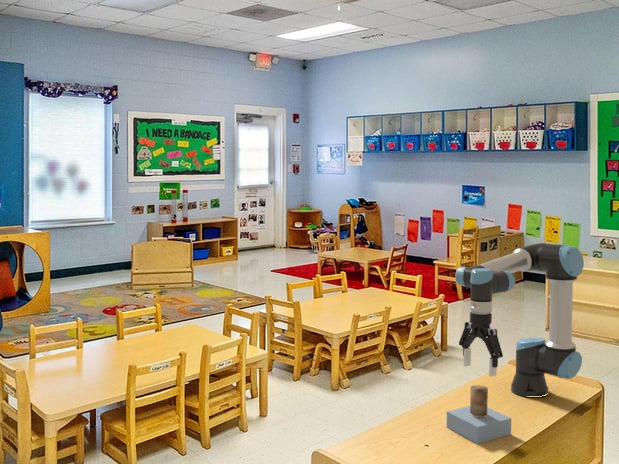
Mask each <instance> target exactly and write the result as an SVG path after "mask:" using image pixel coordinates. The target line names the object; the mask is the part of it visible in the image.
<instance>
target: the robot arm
mask: <svg viewBox="0 0 619 464" xmlns="http://www.w3.org/2000/svg"><path fill="white" fill-rule="evenodd" d="M584 263H585V262H584V256H583V254H582V252H581V251H580V249H579V248H577V246H571V245H567V244H556V243H555V244H554V243H543V242H542V243H541V242H540V243H533V244H529V245H525V246H522V247H519V248H516V249H515V250H513V252H512V253H510V254H507V255H503V256H501V257H498V258H495V259H492V260H488V261H486V262H482V263H481V264H477V265H475V266H471V267H469V266H460V267H459V268H458V269H456V272H455V275H454V276H455V282H456V284H458V285H459V286H460V287H464V288H470V299H469V302H470V303H469V307H470V308H469V310H470V312H469V321H466V322H464V326H463V327H464V328H463V330H462V334H461V336H460V339H459V341H458V345H459V346H461V347H462V357H463V366H464V367H469V366H472V365H471V361H472V360H471V359H472V348H471V345H472V344H473V342H474V341H475V339H476V338H479V339H480V340H482V342H483V343H484V345H485V346H486V348H487V351H488V353H489V355H490V357H489V361H488V362H489V369H488V370H489V371H488V376H489V377H490V378H492V377H496V376H497V368H498V366H499V358H503V357H504V354H503V351H502V347H501V344H500V341H499V337H498V329H496V328H494V329H493V328H491V326H490V325H491V324H492V323H493V322H492V317H493V316H492V313H491V312H492V311H493V295H494V294H501V293H507V292H509V291H512V290H513V289H514V287H515V285H516V279H515V275H513V274H515V273H517V272H527V271H536V272H537V271H538V272H544V273H545V279H546V280H547V281H548V282H549V309H548V310H549V316H548V317H549V320H548V323H549V325H548V327H549V328H548V340H547V341H546V339H544V338H541V337H525V338H520V339H518V340H517V341H516V346H515V347H516V348H515V374H514V376H513V379H512V382H511V384H510V392H512V393H513V394H514V395H516V396H520V397H523V396H542V395H545V394H547V393H548V394H549V386H548V383H547V381H546V377H545V376H546V375H545V374H547V375H551V376H554V377H557V378H559V379H565V380H566V379H567V380H571V379H574V378H575V377H576V376H577V375H578V374H579V372H580V369H581V367H582V363H583V358H582V357H583V356H582V355H581V353H580V352H579V351H576V350H577V345H576V344H575V343H574V342H573V296H574V295H573V293H574V292H573V290H574V289H573V287H574V286H573V285H574V282H576V281H577V280H578V276H580V275H581V274H582V272H583V270H584V266H585V264H584Z"/></svg>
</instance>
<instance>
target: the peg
mask: <svg viewBox="0 0 619 464" xmlns="http://www.w3.org/2000/svg"><path fill="white" fill-rule="evenodd" d="M488 391H489V387H487V386H485V385H479V384H478V385H471V386H470V395H469V396H470V398H469V400H470V401H469V404H470V405H469V406H470V415H471V416H472V417H475V418H478V419H479V418H485V417H487V407H488V400H489V399H488V398H489V397H488V396H489V395H488V394H489V393H488Z"/></svg>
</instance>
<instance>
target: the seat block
mask: <svg viewBox="0 0 619 464" xmlns="http://www.w3.org/2000/svg"><path fill="white" fill-rule="evenodd" d="M446 428H448V429H449V430H450V431H452V432H455V433H456V434H458V435H460V436H462V437H465V438H466V439H467V440H470V441H472V442H473V443H475V444H477V445H478V444H481V443H485V442H488V441H493V440H496V439H499V438H502V437H503V438H504V437H507V436H510V435H512V418H511V417H509V416H508V415H505V414H504V413H500V412H499V411H496V410H494V409H492V408H490V407H488V406H487V417H485V418H479V419H478V418H475V417H472V416H471V415H470V405H468V406H464V407H461V408H456V409H452V410H448V411H446Z"/></svg>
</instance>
